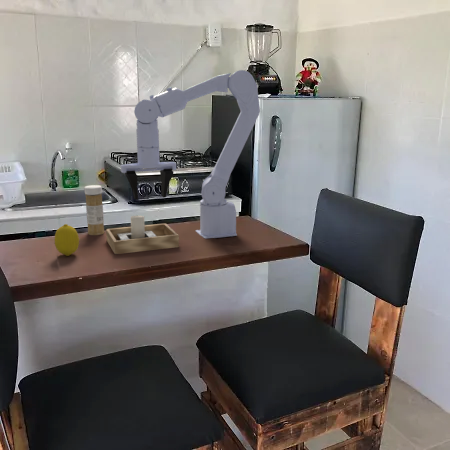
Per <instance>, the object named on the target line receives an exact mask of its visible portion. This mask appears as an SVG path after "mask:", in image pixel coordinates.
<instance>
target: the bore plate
mask: <svg viewBox="0 0 450 450" xmlns="http://www.w3.org/2000/svg"><path fill="white" fill-rule="evenodd" d="M147 237H157V236H156V235H155V234H154V233H153V232H152V231H151V230H150V231H145V238H147ZM128 239H131V232H130V233H120V234H117V241H118V240H128Z"/></svg>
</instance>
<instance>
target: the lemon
mask: <svg viewBox="0 0 450 450" xmlns="http://www.w3.org/2000/svg"><path fill="white" fill-rule="evenodd" d="M79 245H80V237H79V233H78V231H77V230H76V228H75V227H74V226H72V225H69V224H67V223H65V224H63V225H62V226H60V227H58V228H57V230H56V231H55V234H54V246H55V248H56V251H58V252H59V253H61V255H65V256H66V257H68V256H71V255H72V254H74V253H75V252H76V251H77V250H78V248H79Z"/></svg>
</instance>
